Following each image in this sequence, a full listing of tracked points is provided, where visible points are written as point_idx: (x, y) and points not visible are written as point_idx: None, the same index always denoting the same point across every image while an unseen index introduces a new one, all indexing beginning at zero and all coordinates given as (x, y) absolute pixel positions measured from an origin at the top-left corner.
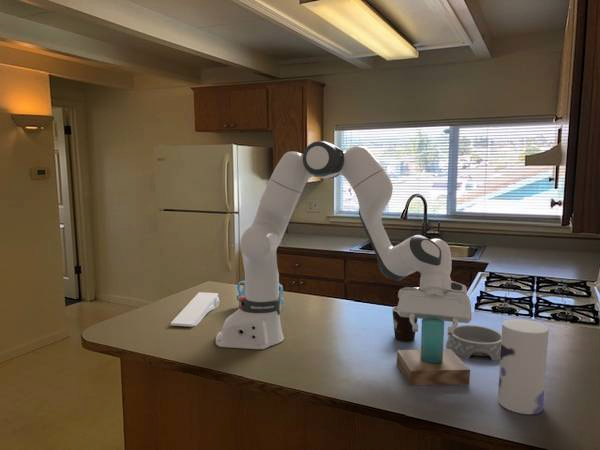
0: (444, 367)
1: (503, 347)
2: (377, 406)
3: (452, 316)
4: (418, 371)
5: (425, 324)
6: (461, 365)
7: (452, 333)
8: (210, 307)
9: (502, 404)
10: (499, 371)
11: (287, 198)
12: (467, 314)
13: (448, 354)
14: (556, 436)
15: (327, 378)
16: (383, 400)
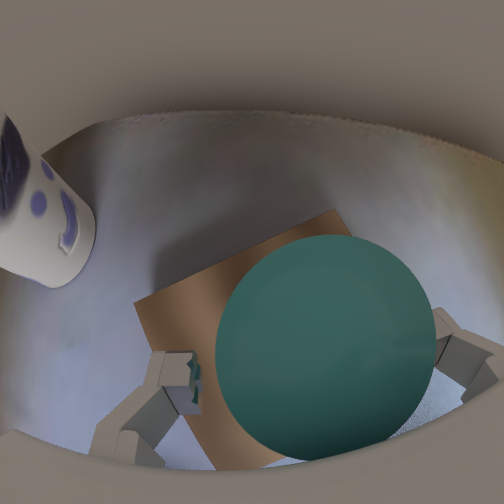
0: (224, 286)
1: (6, 128)
2: (347, 122)
3: (127, 463)
4: (310, 220)
5: (384, 256)
6: (163, 332)
7: (161, 352)
8: None
9: (90, 210)
10: (51, 200)
11: None
12: (1, 446)
13: (224, 427)
14: (50, 161)
15: (471, 198)
16: (348, 142)
